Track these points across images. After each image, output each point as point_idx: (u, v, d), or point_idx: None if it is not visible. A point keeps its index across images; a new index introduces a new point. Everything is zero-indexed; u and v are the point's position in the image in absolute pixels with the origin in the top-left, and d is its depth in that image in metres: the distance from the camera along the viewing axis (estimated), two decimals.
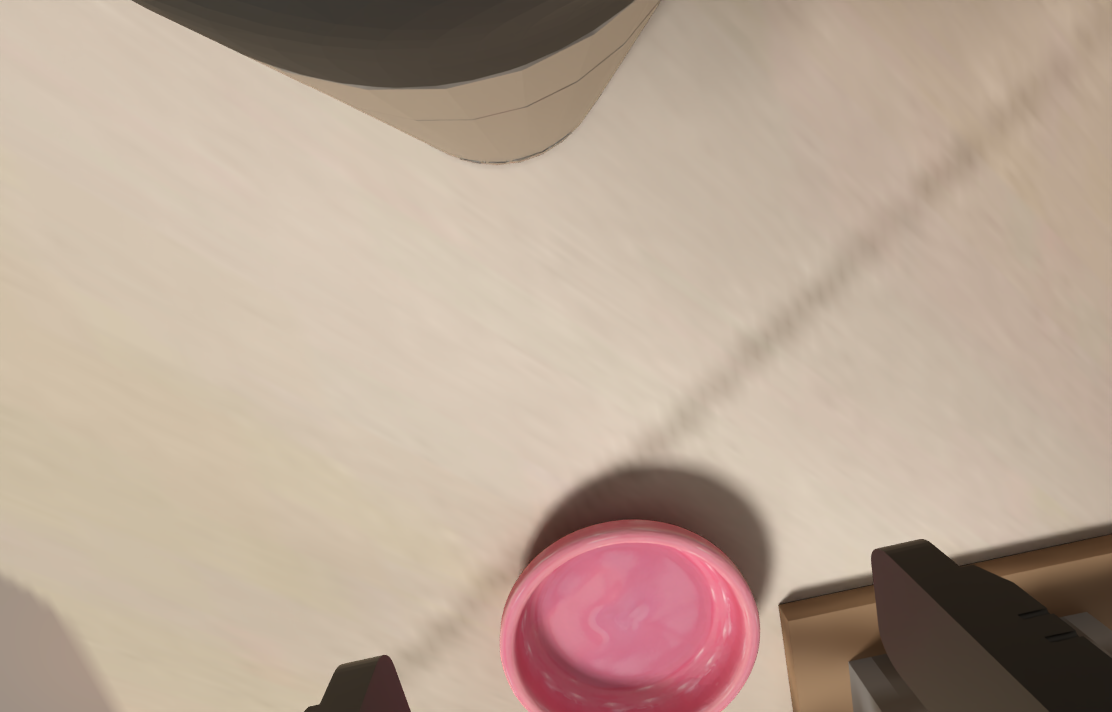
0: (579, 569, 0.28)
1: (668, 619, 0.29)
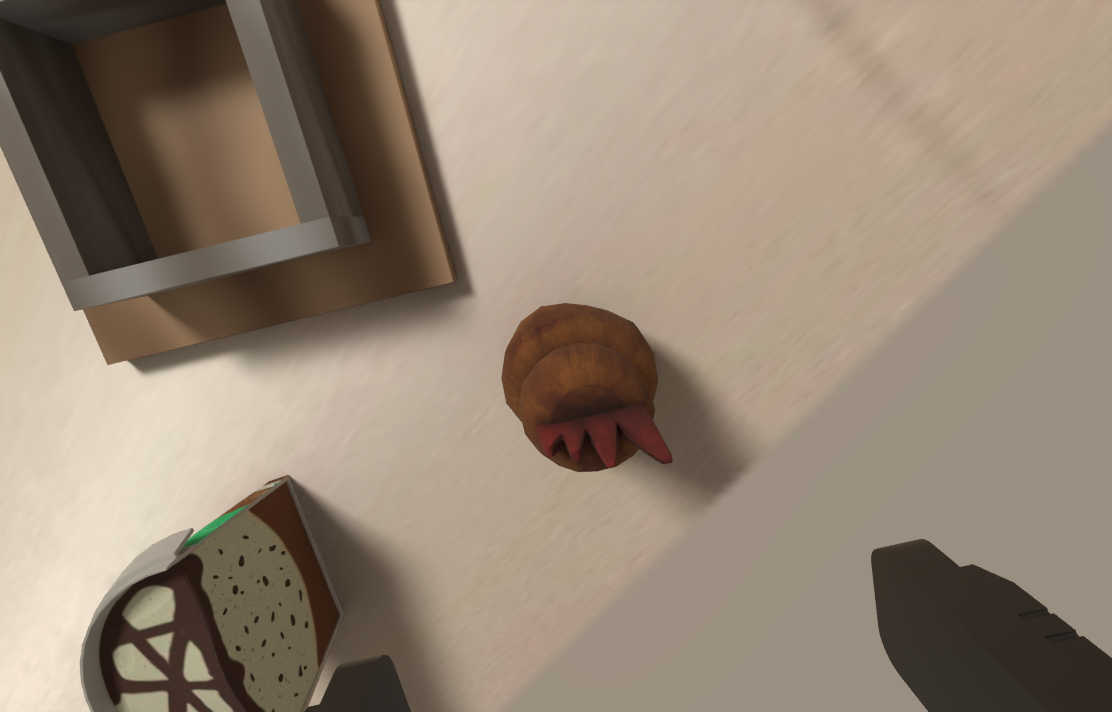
0: None
1: None
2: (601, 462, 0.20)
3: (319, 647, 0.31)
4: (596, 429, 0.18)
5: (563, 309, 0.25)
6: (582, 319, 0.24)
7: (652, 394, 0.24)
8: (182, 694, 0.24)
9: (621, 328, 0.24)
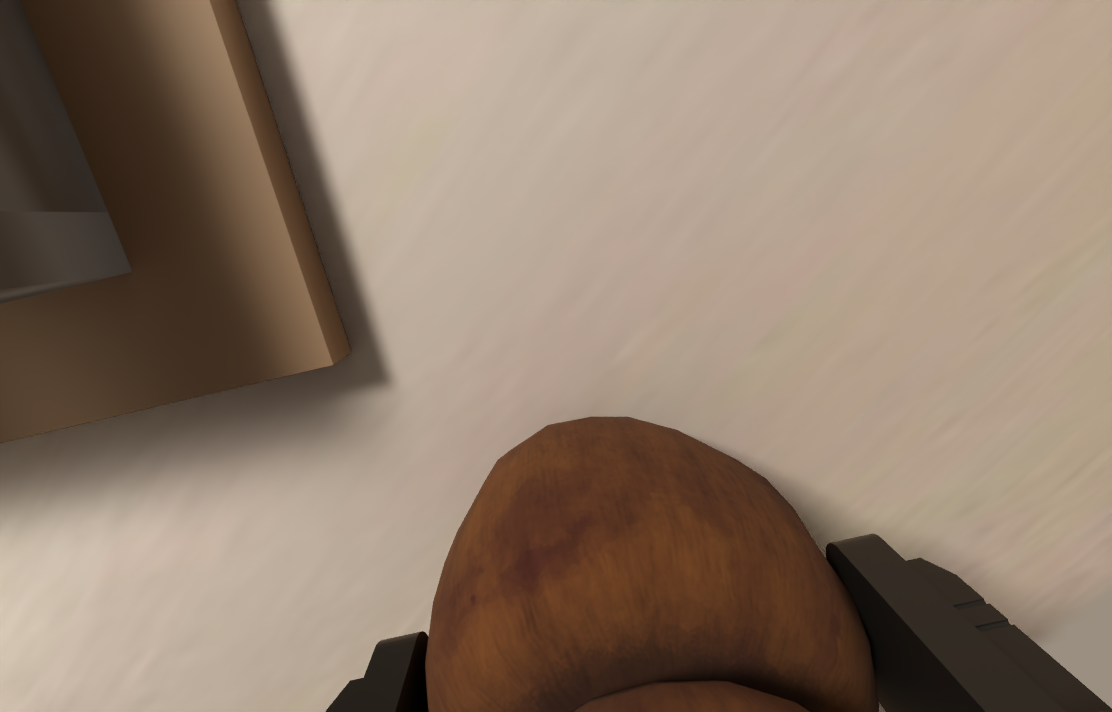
0: None
1: None
2: None
3: None
4: None
5: (598, 471, 0.09)
6: (662, 527, 0.08)
7: None
8: None
9: (778, 548, 0.08)
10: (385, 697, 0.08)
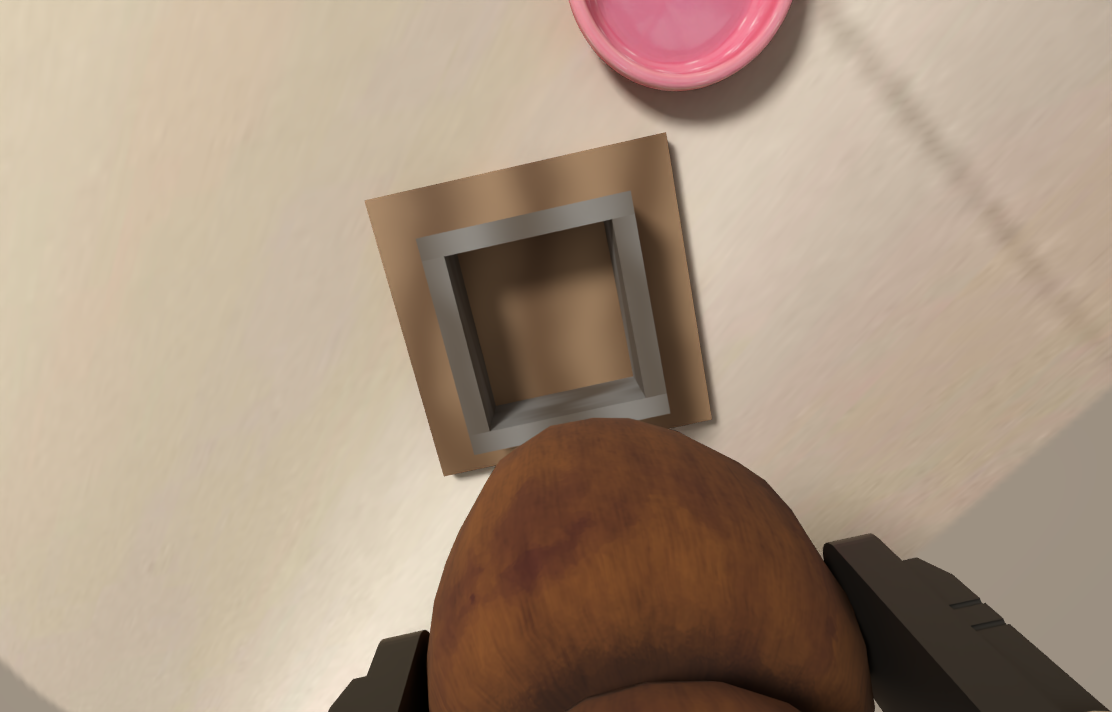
0: None
1: (666, 20, 0.32)
2: None
3: None
4: None
5: (598, 472, 0.09)
6: (660, 527, 0.08)
7: None
8: None
9: (775, 550, 0.08)
10: (388, 695, 0.08)
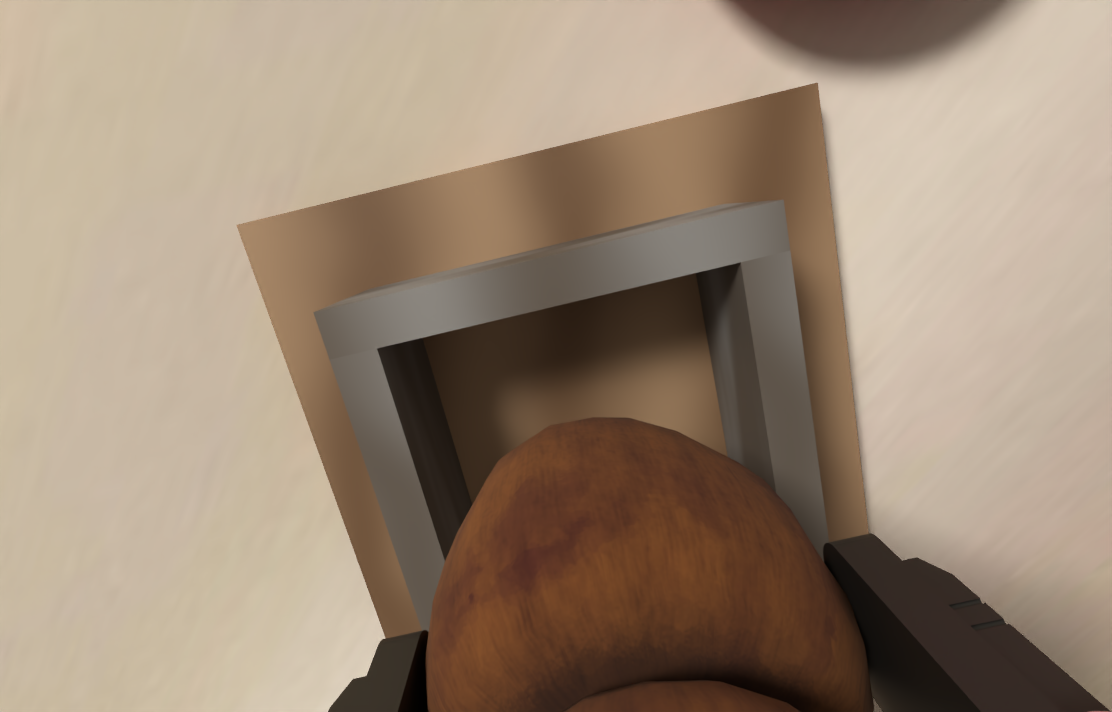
0: None
1: None
2: None
3: None
4: None
5: (597, 472, 0.09)
6: (659, 527, 0.08)
7: None
8: None
9: (774, 549, 0.08)
10: (388, 695, 0.08)
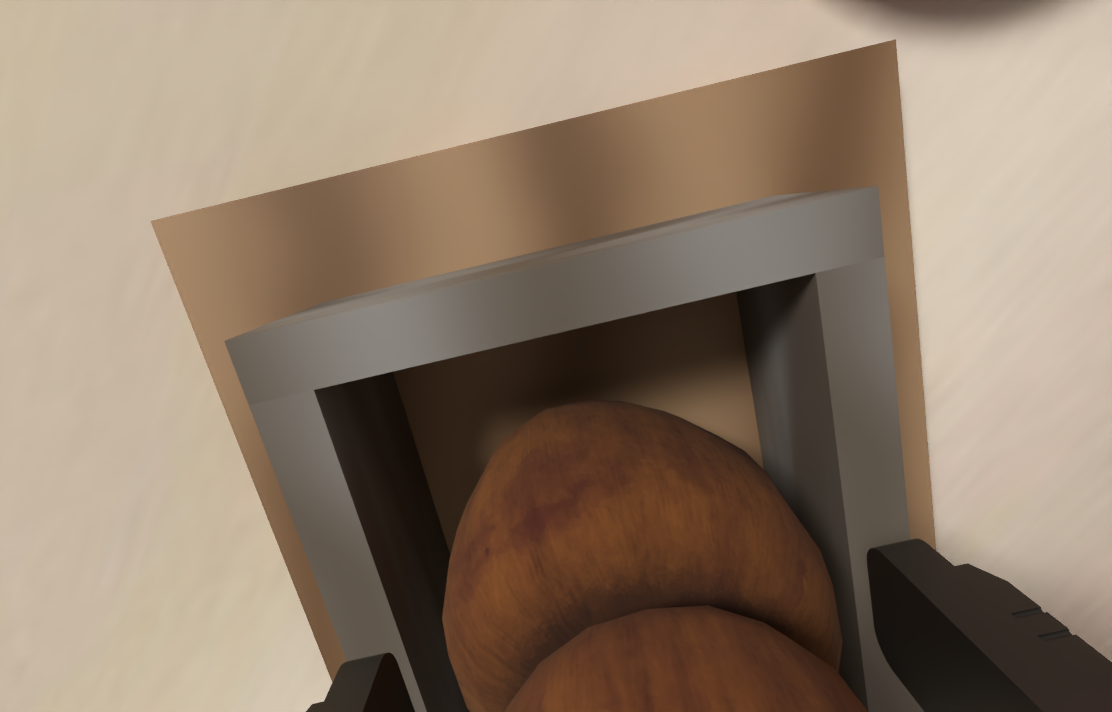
0: None
1: None
2: None
3: None
4: None
5: (594, 442, 0.10)
6: (652, 486, 0.09)
7: None
8: None
9: (752, 504, 0.09)
10: None
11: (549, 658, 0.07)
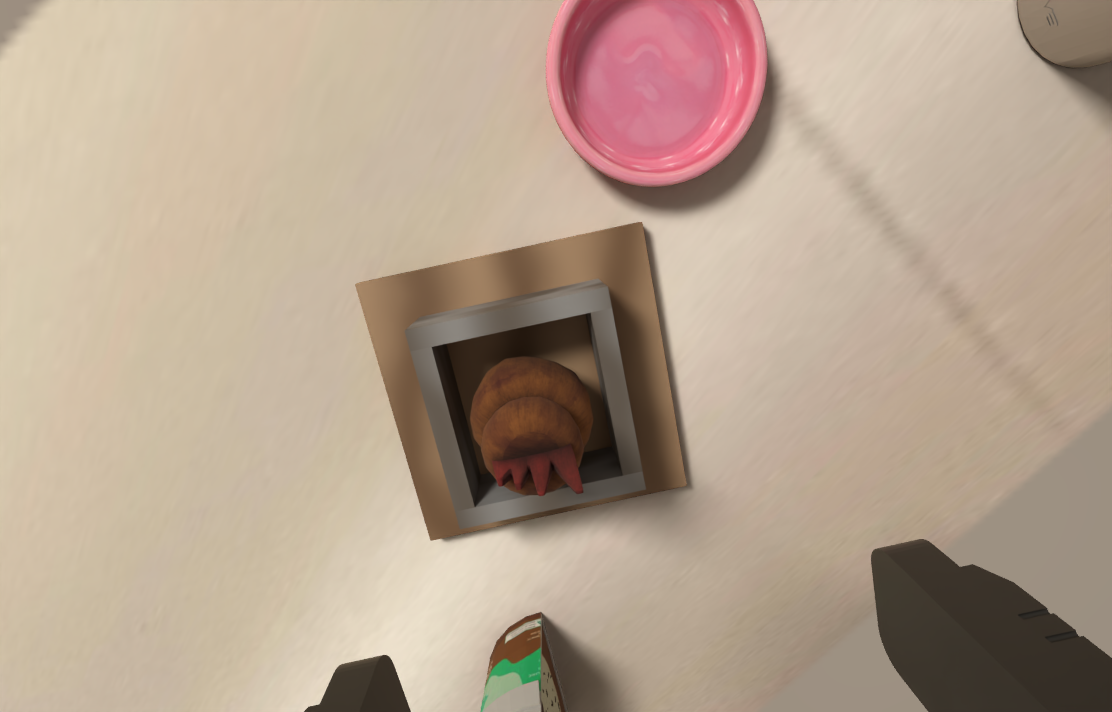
0: (698, 36, 0.33)
1: (642, 119, 0.34)
2: None
3: None
4: (535, 466, 0.25)
5: (519, 364, 0.32)
6: (533, 375, 0.30)
7: (587, 433, 0.31)
8: None
9: (564, 381, 0.31)
10: None
11: (499, 409, 0.29)
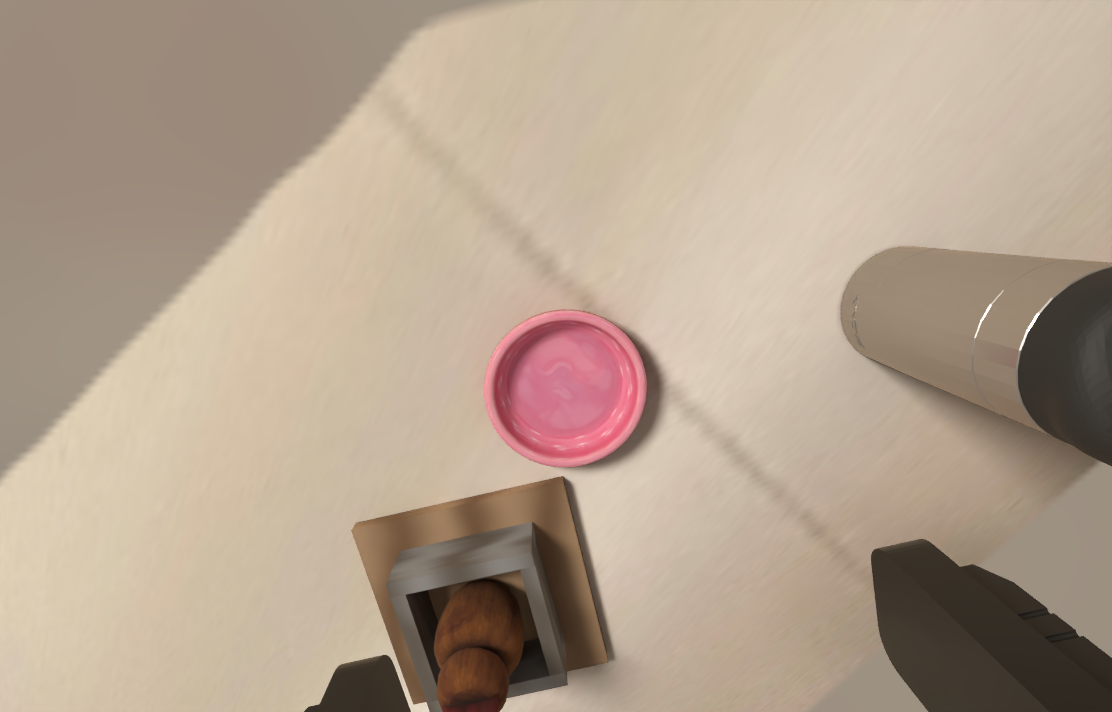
0: (599, 355, 0.45)
1: (560, 411, 0.46)
2: None
3: None
4: None
5: (469, 606, 0.44)
6: (477, 620, 0.42)
7: (517, 660, 0.43)
8: None
9: (500, 623, 0.43)
10: None
11: (451, 656, 0.41)
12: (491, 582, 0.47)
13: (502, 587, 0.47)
